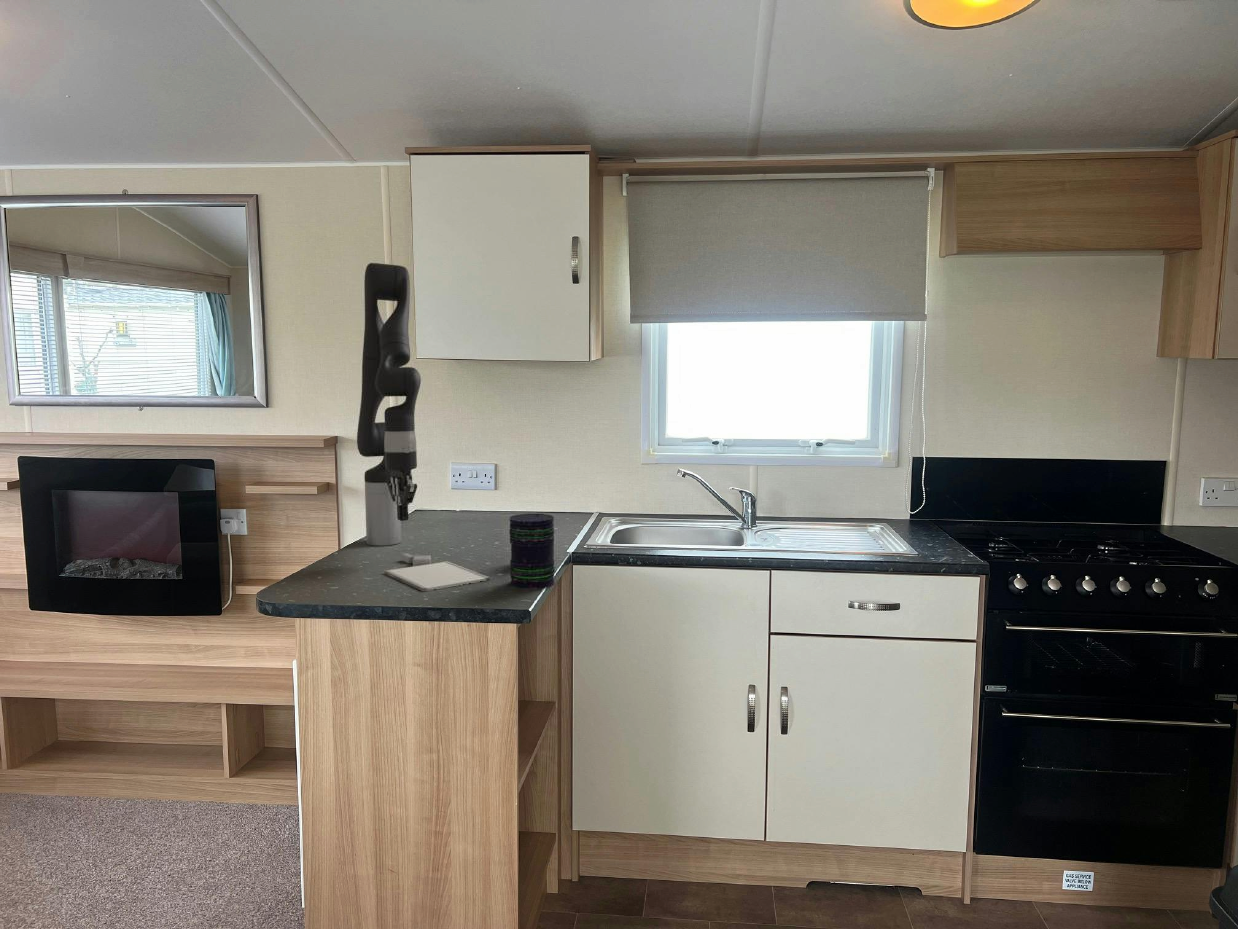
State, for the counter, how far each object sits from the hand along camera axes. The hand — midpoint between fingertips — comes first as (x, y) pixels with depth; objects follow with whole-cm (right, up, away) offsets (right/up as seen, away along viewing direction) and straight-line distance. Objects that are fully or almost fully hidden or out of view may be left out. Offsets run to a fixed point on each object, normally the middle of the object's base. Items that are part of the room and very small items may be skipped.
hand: (402, 520), depth 204 cm
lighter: (+4, -10, -3) cm, 11 cm away
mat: (+11, -12, -13) cm, 21 cm away
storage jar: (+34, -13, -20) cm, 41 cm away
